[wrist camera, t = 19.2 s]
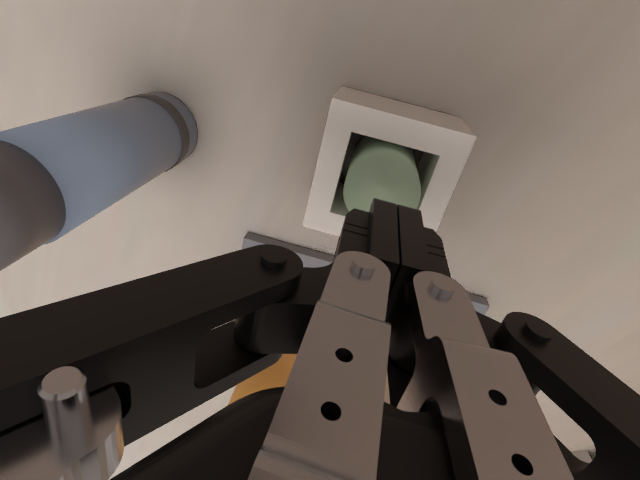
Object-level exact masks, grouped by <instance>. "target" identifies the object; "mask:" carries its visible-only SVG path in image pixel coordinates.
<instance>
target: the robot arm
mask: <svg viewBox="0 0 640 480" xmlns="http://www.w3.org/2000/svg"><path fill="white" fill-rule="evenodd" d="M445 257H446V255H445V251H444V247H443V243H442V239H441V238H440V237H439V236H438V234H437V233H436V232H435V231H434V230H433V229H430V228H426V227H424V225H423V220H422V214H421V210H418V209H414V208H410V207H406V206H403V205H399V204H398V205H397V204H395V203H391V202H387V201H384V200H380V199H376V198H374V199H373V201H372V204H371V207H370V210H369V212H366V211H363V210H359V209H355V208H354V209H352V210H351V211H350V212H348V213H347V214H346V216H345V220H344V223H343V227H342V230H341V234H340V237H339V241H338V244H337V248H336V251H335V255H334V260H333V263H331V264H329V265H327V266H323V267H316V268H310V267H303V262H302V260H301V258H300V257H299V256H298V255H297V254H296V253H294V252H293V251H291V250H289V249H287V248H285V247H282V246H278V245H271V244H262V245H256V246H253V247H249V248H246V249H242V250H239V251H235V252H231V253H228V254H224V255H221V256H217V257H214V258H210V259H207V260H203V261H200V262H196V263H193V264H189V265H186V266H182V267H179V268H175V269H171V270H168V271H164V272H161V273H157V274H154V275H150V276H147V277H143V278H140V279H136V280H133V281H129V282H126V283H122V284H118V285H115V286H111V287H108V288H104V289H101V290H97V291H94V292H90V293H87V294H83V295H80V296H76V297H73V298H69V299H66V300H62V301H58V302H55V303H51V304H48V305H44V306H41V307H37V308H34V309H30V310H27V311H23V312H20V313H16V314H13V315H9V316H5V317H2V318H0V480H108V479H109V478H110V476H111V475H112V474H113V473H114V472H115V470H116V468H117V467H118V465H119V463H120V461H121V458H122V455H123V451H124V446H126V445H128V444H130V443H132V442H133V441H135V440H137V439H139V438H141V437H143V436H144V435H146V434H148V433H150V432H152V431H153V430H155V429H157V428H159V427H161V426H163V425H164V424H166V423H168V422H170V421H172V420H173V419H175V418H177V417H179V416H181V415H183V414H184V413H186V412H188V411H190V410H192V409H193V408H195V407H197V406H199V405H201V404H203V403H204V402H206V401H208V400H210V399H212V398H213V397H215V396H217V395H219V394H221V393H223V392H224V391H226V390H228V389H230V388H232V387H233V386H235V385H237V384H239V383H241V382H243V381H244V380H246V379H248V378H250V377H252V376H253V375H255V374H257V373H259V372H261V371H263V370H264V369H266V368H268V367H270V366H272V365H273V364H275V363H276V362H277V361H278V360H279V359H280V358H281V356H282V354H297V356H296V359H295V362H294V364H293V367H292V369H291V372H290V375H289V377H288V380H287V383H286V385H285V387H275V388H269V389H264V390H261V391H258V392H255V393H251V394H249V395H247V396H245V397H243V398H240V399H238V400H236V401H235V402H233V403H231V404H229V405H228V406H226V407H225V408H223V409H222V410H220V411H218V412H217V413H215V414H214V415H212V416H210V417H209V418H207V419H206V420H204V421H202V422H201V423H199V424H198V425H196V426H194V427H193V428H191V429H190V430H188V431H187V432H185V433H183V434H182V435H180V436H179V437H177V438H175V439H174V440H172V441H171V442H169V443H167V444H166V445H164V446H163V447H161V448H160V449H158V450H156V451H155V452H153V453H152V454H150V455H148V456H147V457H145V458H144V459H142V460H140V461H139V462H137V463H136V464H134V465H132V466H131V467H129V468H128V469H126V470H124V471H123V472H121V473H120V474H118V475H116V476H115V477H113V478H112V479H110V480H640V395H639V394H637V393H636V392H635V391H634V390H632V389H631V388H630V387H629V386H627V385H626V384H625V383H623V382H622V381H621V380H620V379H618V378H617V377H616V376H615V375H613V374H612V373H611V372H609V371H608V370H607V369H606V368H604V367H603V366H602V365H601V364H599V363H598V362H597V361H595V360H594V359H593V358H592V357H590V356H589V355H588V354H587V353H585V352H584V351H583V350H581V349H580V348H579V347H578V346H576V345H575V344H574V343H573V342H571V341H570V340H569V339H567V338H566V337H565V336H564V335H562V334H561V333H560V332H559V331H557V330H556V329H555V328H553V327H552V326H551V325H549V324H548V323H546V322H545V321H543V320H541V319H539V318H537V317H535V316H533V315H530V314H526V313H522V312H512V313H509V314H507V315H506V316H505V318H504V320H503V321H502V323H500V322H498V321H495V320H493V319H491V318H489V317H487V316H485V315H483V314H481V313H479V312H477V311H475V309H474V306H473V304H472V301H471V299H470V296H469V294H468V292H467V291H466V290H465V288H464V287H463V286H462V285H461V284H459V283H458V282H457V281H455V280H454V279H452V278H451V276H450V272H449V268H448V263H447V259H446V258H445ZM232 320H234V321H232ZM230 321H231V322H230ZM227 322H229V323H227ZM225 323H227V324H225ZM223 324H224V325H223ZM220 325H222V326H220ZM218 326H219V327H218ZM215 327H217V328H215ZM213 328H215V329H213ZM211 329H212V330H211ZM540 389H541V390H542V391H543V392H544V393H545V394H546V395H547V396H548V397H549V398H550V399H551V400H552V401H553V402H554V403H556V404H557V405H558V406H559V407H560V408H561V409H562V410H563V411H564V412H565V413H566V414H567V415H568V416H569V417H570V418H572V419H573V420H574V421H575V422H576V423H577V424H578V425H579V426H580V427H581V428H582V429H583V430H584V431H585V432H586V433H587V434H588V435H589V436H590V437H591V439H592V441H593V442H594V445H595V448H596V456H595V458H594V459H593V461H592V462H590V463H587V462H584V461H581V460H580V459H578V458H577V457H575V456H574V455H573V454H572V453H571V452H570V451H569V450H568V449H567V448H566V447H565V446H564V445H563V444H562V443H561V442H560V441H559V440H558V439H557V438H556V437H555V436H554V435H553V433H552V431H551V429H550V427H549V425H548V423H547V420H546V418H545V416H544V414H543V412H542V410H541V408H540V405H539V403H538V401H537V399H536V397H535V396H536V394H537V393H538V392H539V391H540Z"/></svg>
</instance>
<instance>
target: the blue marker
mask: <svg viewBox="0 0 640 480" xmlns="http://www.w3.org/2000/svg"><path fill="white" fill-rule="evenodd" d="M196 143H197V126H196V123H195V120H194V118H193V116H192V114H191V112H190V111H189V109H188V108H187V107H186V106H185V105H184V104H183V103H182V102H181V101H180V100H179V99H177V98H176V97H174V96H172V95H170V94H167V93H163V92H152V93H148V94H140V95H136V96H132V97H128V98H126V99H123V100H121V101H117V102H113V103H109V104H106V105H102V106H98V107H94V108H90V109H86V110H82V111H78V112H75V113H71V114H67V115H63V116H59V117H55V118H51V119H47V120H44V121H40V122H36V123H32V124H28V125H24V126H20V127H17V128H13V129H9V130H5V131H1V132H0V271H1V270H2V269H4V268H6V267H7V266H9V265H11V264H12V263H14V262H15V261H17V260H19V259H20V258H22V257H23V256H25V255H27V254H28V253H30V252H32V251H33V250H35V249H36V248H38V247H40V246H41V245H43V244H48V243H51V242H53V241H55V240H57V239H58V238H60V237H62V236H63V235H65V234H66V233H68V232H69V231H71V230H73V229H74V228H76V227H77V226H79V225H81V224H82V223H84V222H85V221H87V220H89V219H90V218H92V217H93V216H95V215H96V214H98V213H100V212H101V211H103V210H104V209H106V208H108V207H109V206H111V205H112V204H114V203H115V202H117V201H119V200H120V199H122V198H123V197H125V196H127V195H128V194H130V193H131V192H133V191H135V190H136V189H138V188H139V187H141V186H142V185H144V184H146V183H147V182H149V181H150V180H152V179H154V178H155V177H157V176H158V175H160V174H162V173H163V172H165V171H168V170H170V169H171V168H173V167H174V166H176V165H178V164H179V163H180V162H181V161H182V160H184V159H185V158H187V157H188V156H189V155H190V154H191V153H192V152H193V150H194V148H195V146H196Z"/></svg>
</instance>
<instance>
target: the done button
mask: <svg viewBox="0 0 640 480" xmlns="http://www.w3.org/2000/svg"><path fill="white" fill-rule="evenodd" d="M343 196H344V202H345V204H346V207H347V209H348V211H349V212H350V211H351V210H352V209H354V208H355V209H359V210H363V211H366V212H369V210H370V207H371V204H372V201H373V199H374V198H376V199H380V200H384V201H387V202H391V203H395V204H397V205H398V204H399V205H403V206H406V207H410V208H414V209H417V207H418V205H419V202H420V198H421V184H420V180H419V176H418V171H417V167H416V162H415V158H414V154H413V150H412V148H410V147H406V146H402V145H398V144H395V143H391V142H387V141H384V140H380V139H376V138H372V137H369V136H366V137H364V138H363V139H362V140H361V141H360V142H359V143H358V144H357V146H356V147H355V149H354V152H353V154H352V158H351V162H350V165H349V169H348V172H347V176H346V180H345V183H344V189H343Z"/></svg>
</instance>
